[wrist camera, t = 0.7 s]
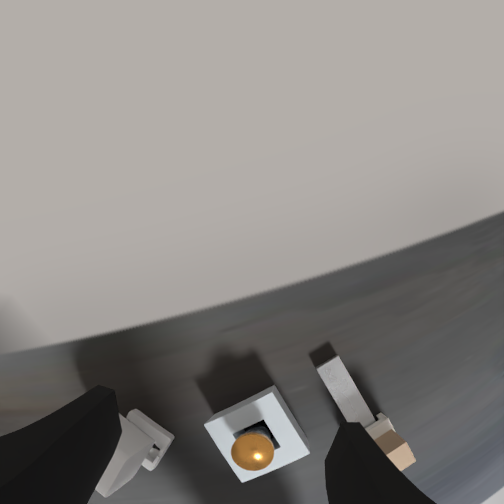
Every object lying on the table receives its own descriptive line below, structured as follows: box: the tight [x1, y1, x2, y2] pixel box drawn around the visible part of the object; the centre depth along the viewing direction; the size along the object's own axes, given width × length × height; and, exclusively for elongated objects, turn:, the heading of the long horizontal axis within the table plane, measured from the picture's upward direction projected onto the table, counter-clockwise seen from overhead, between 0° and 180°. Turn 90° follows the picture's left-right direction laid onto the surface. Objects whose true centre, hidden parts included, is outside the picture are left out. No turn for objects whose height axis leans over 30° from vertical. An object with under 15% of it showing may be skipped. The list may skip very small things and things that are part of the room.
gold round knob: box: [231, 425, 274, 471], centre depth 22 cm, size 3×3×4 cm
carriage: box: [365, 413, 416, 471], centre depth 22 cm, size 5×4×7 cm
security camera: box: [95, 409, 175, 498], centre depth 23 cm, size 6×7×10 cm
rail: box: [315, 355, 376, 428], centre depth 26 cm, size 13×2×2 cm, turn 30°
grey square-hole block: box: [204, 385, 310, 483], centre depth 25 cm, size 7×7×4 cm
